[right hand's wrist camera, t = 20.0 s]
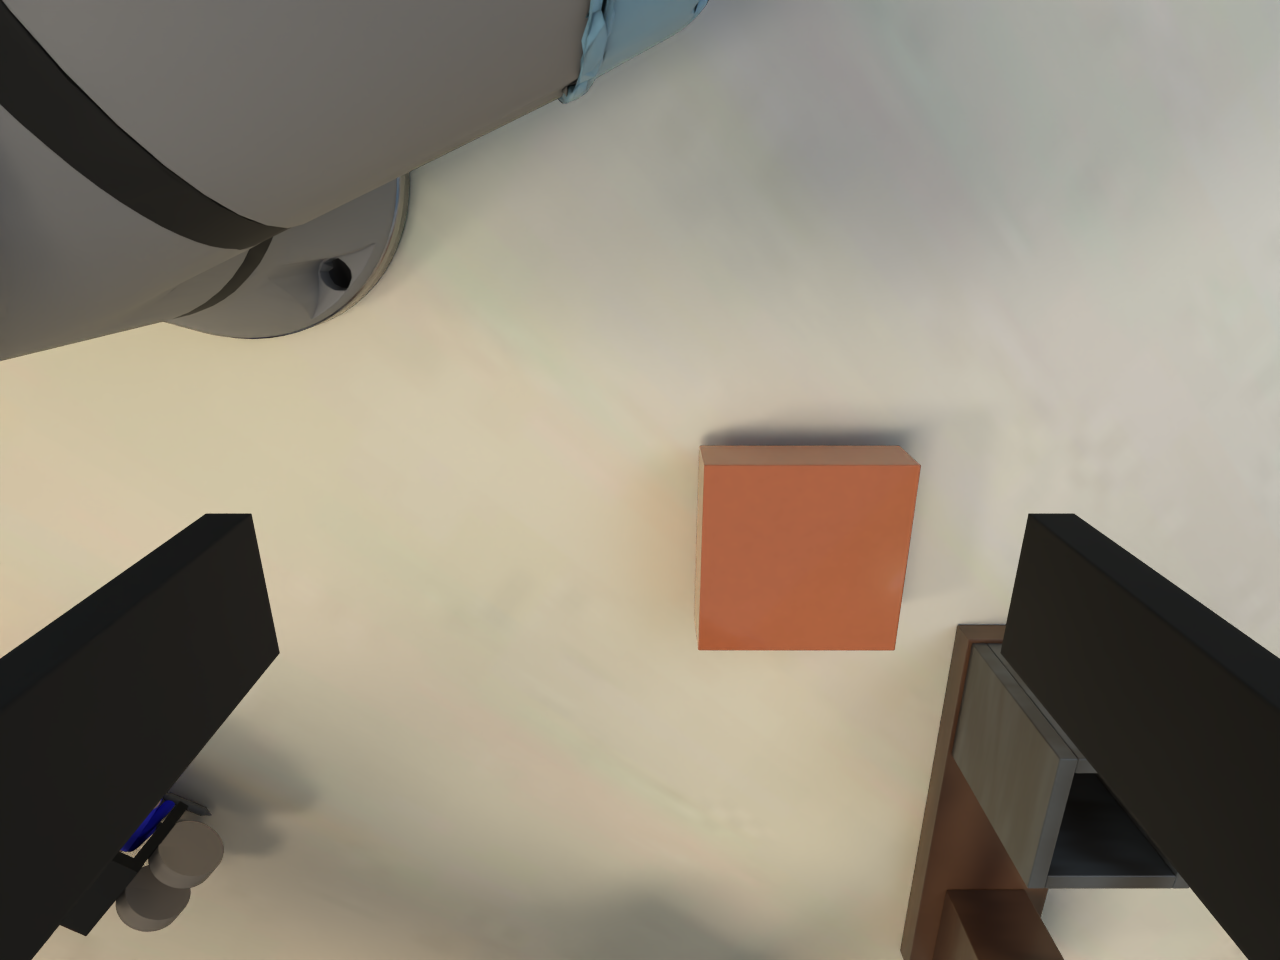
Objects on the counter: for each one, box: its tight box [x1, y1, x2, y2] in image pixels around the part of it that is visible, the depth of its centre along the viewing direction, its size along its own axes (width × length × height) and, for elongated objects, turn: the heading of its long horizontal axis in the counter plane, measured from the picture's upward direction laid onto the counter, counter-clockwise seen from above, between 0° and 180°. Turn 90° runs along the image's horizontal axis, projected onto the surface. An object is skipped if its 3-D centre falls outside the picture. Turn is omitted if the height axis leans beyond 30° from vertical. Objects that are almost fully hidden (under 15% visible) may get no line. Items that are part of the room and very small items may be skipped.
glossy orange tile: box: [694, 446, 921, 650], centre depth 37 cm, size 10×10×4 cm
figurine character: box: [60, 793, 224, 936], centre depth 42 cm, size 7×8×15 cm
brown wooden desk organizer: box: [901, 625, 1189, 960], centre depth 40 cm, size 8×26×12 cm, turn 0°
